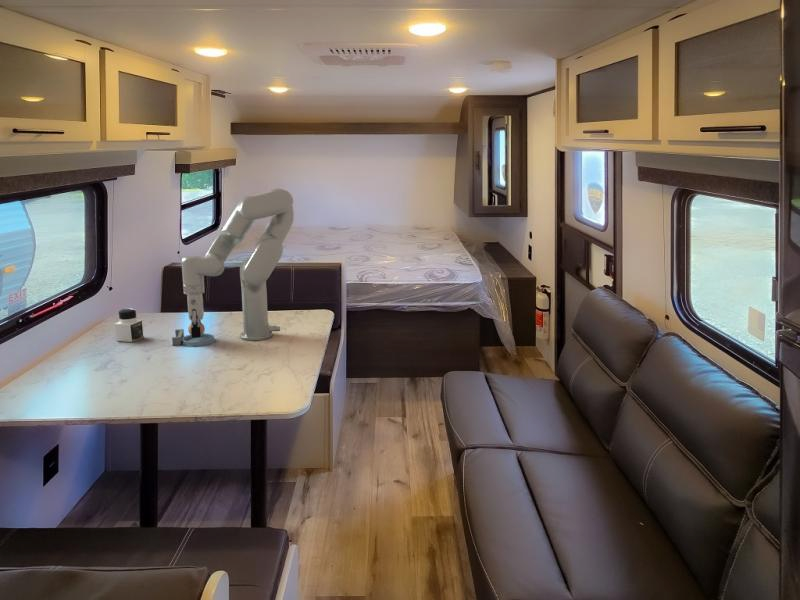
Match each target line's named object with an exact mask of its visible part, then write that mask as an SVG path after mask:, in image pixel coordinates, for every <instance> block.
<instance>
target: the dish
mask: <svg viewBox="0 0 800 600" xmlns="http://www.w3.org/2000/svg"><path fill="white" fill-rule="evenodd" d="M214 342H215V335H213V334H212V333H205V332H204V333H203V334H202V335H201V337H195V338H192V335H190V334H187V335H184V337H182V339H181V343H182V344H181V346H187V347H202V346H206V345H210V344H213V343H214Z"/></svg>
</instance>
